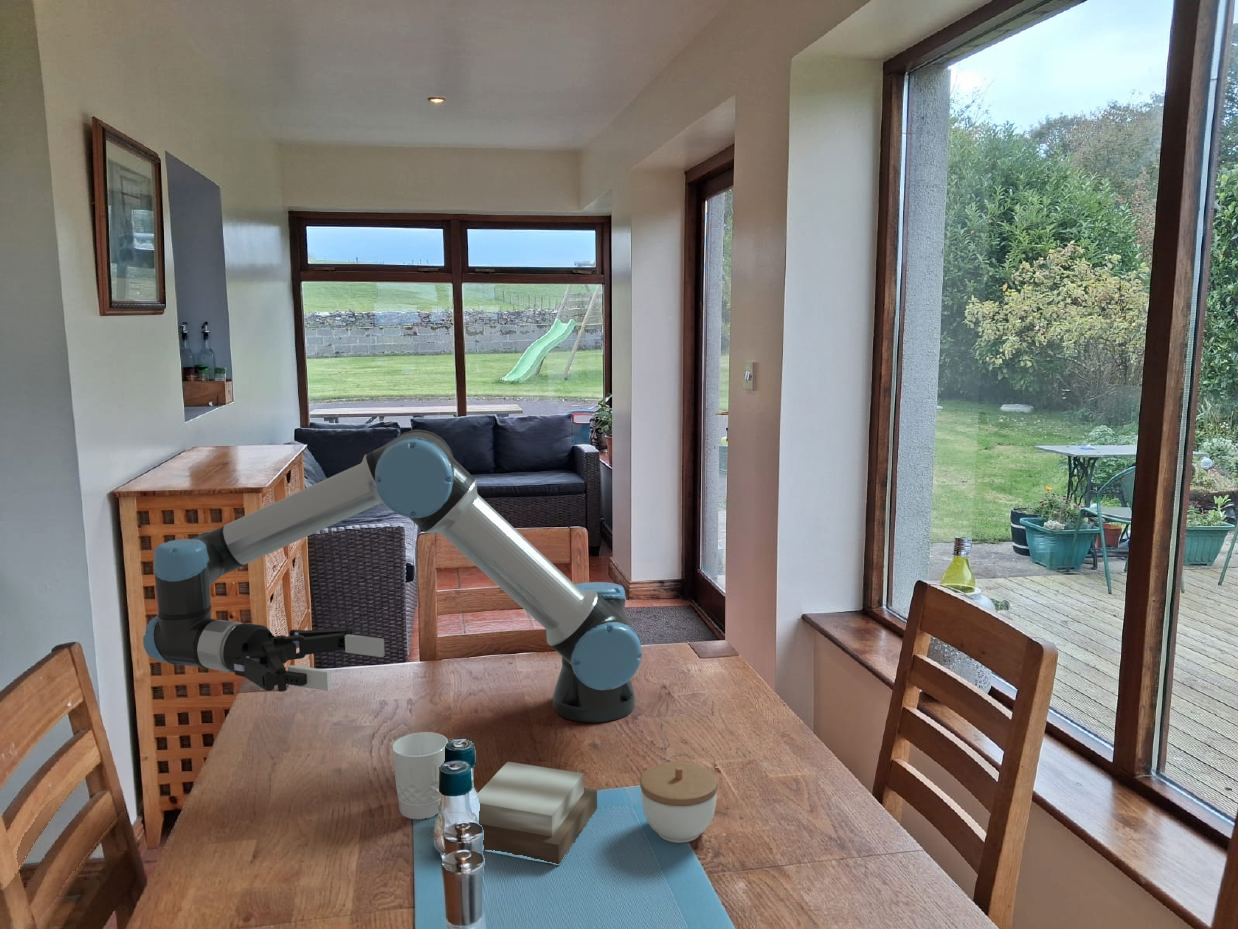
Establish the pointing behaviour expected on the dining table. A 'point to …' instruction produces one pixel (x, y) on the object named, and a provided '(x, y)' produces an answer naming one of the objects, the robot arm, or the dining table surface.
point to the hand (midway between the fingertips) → (357, 663)
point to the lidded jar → (678, 799)
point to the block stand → (534, 811)
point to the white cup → (418, 773)
